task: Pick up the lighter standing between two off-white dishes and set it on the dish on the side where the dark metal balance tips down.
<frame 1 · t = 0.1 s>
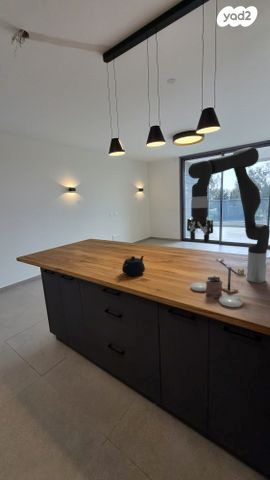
hand: (199, 241, 101), 29 cm above the table, tool pointing down, fingers open, 8 cm apart
dish high side: (199, 288, 117), on the table
dish low side: (230, 303, 99), on the table
teapot: (134, 273, 147), on the table
balance: (228, 290, 113), on the table
lighter: (213, 295, 108), on the table
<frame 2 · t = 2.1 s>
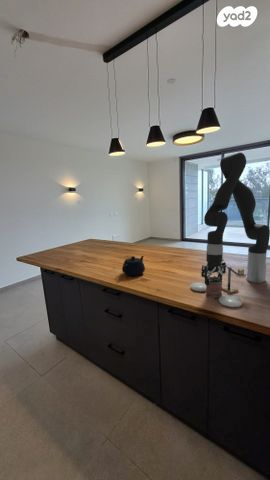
hand: (213, 283, 107), 6 cm above the table, tool pointing down, fingers open, 8 cm apart
lighter: (213, 295, 108), on the table, touching gripper
everything else where it was.
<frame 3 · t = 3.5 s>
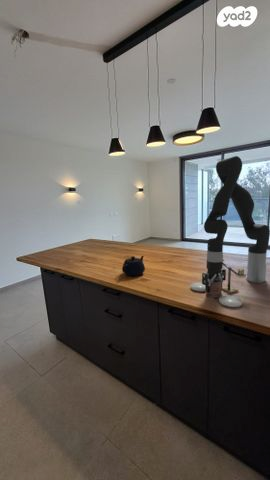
hand: (213, 290, 108), 3 cm above the table, tool pointing down, fingers closed on lighter, 7 cm apart
lighter: (213, 295, 108), on the table, touching gripper
everything else where it was.
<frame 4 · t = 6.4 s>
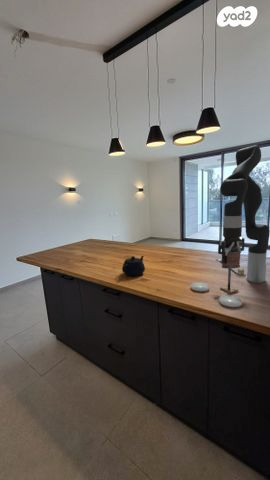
hand: (230, 261, 96), 20 cm above the table, tool pointing down, fingers closed on lighter, 7 cm apart
lighter: (230, 267, 97), point 17 cm above the table, touching gripper
everything else where it was.
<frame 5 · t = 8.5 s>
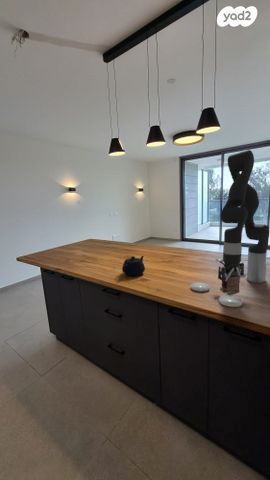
hand: (230, 286, 98), 8 cm above the table, tool pointing down, fingers closed on lighter, 7 cm apart
lighter: (230, 291, 99), point 6 cm above the table, touching gripper
everything else where it was.
when the fingers open (5 cm above the table, at t = 9.9 s): lighter moves 1 cm, resting on dish low side.
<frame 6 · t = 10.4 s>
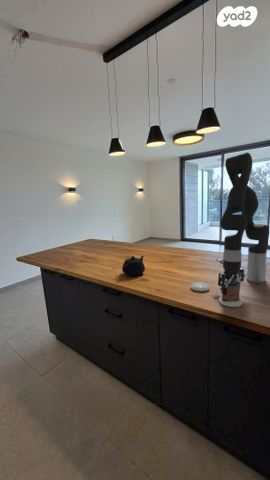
hand: (230, 292, 99), 5 cm above the table, tool pointing down, fingers open, 8 cm apart
lighter: (230, 300, 99), point 1 cm above the table, touching dish low side
everything else where it was.
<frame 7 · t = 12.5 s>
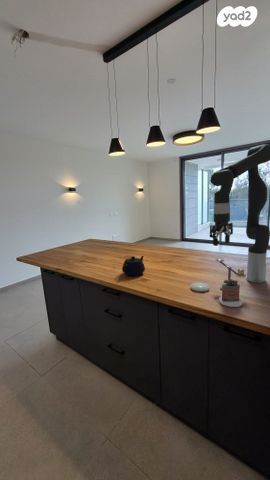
hand: (221, 244, 108), 26 cm above the table, tool pointing down, fingers open, 8 cm apart
nothing on the table moved.
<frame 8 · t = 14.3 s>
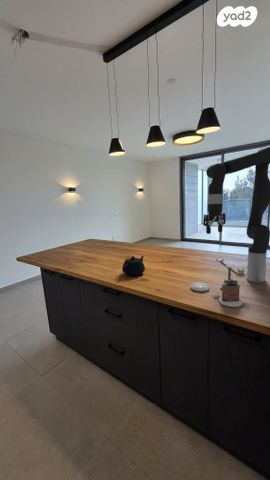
hand: (214, 232, 116), 30 cm above the table, tool pointing down, fingers open, 8 cm apart
nothing on the table moved.
at the end: lighter 0.0 cm off-centre on the dish low side, point 1.3 cm above the dish low side's base; lighter tilted 0°; the gripper is holding nothing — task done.
